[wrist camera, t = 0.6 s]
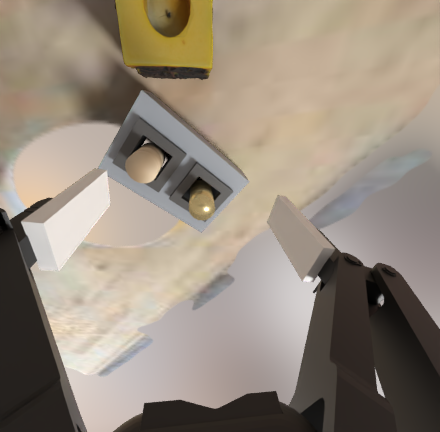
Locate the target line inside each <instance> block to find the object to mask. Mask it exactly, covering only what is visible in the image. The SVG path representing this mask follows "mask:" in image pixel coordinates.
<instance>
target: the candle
mask: <svg viewBox="0 0 440 432" xmlns="http://www.w3.org/2000/svg"><path fill="white" fill-rule="evenodd" d="M212 2H213V0H115V8H116V10H117V16H118V23H119V31H120V40H121V46H122V53H123V60H124V63H125V65H126V66H128V67H131V68H136V70H137V71H138V73H139V74H140V75H142V76H143V77H146V78H147V77H153V78H161V79H162V78H170V79H176V78H179V79H187V78H199V79H201V80H203V79H207V78H208V77H209V73H210V71H211V70H212V60H213V34H212V20H213V7H212Z"/></svg>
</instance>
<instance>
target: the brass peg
mask: <svg viewBox="0 0 440 432" xmlns="http://www.w3.org/2000/svg"><path fill="white" fill-rule="evenodd" d="M214 212H215V204H214V199H213V193H212V188H211V185H210V184H208V183H207V182H206V181H204V180H198V181H196V182H194V183H193V184H192V185H191V188H190V199H189V213H190V215H191V216H192V217H193V218H195V219H197V220H207V219H209V218H211V217H212V216H213V214H214Z"/></svg>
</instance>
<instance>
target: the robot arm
mask: <svg viewBox="0 0 440 432" xmlns="http://www.w3.org/2000/svg"><path fill="white" fill-rule="evenodd" d="M109 206H110V196H109V186H108V175H107V170H102V169H96V168H95V169H93V170H92V171H91V172H89V173H88V174H86V175H85V176H84V177H82V178H81V179H79V180H78V181H77V182H75V183H74V184H72V185H71V186H70V187H68V188H67V189H65V190H64V191H63V192H61V193H60V194H58V195H57V196H56V197H54V198H47V199H44V200H41V201H38V202H36V203H35V204H33V205H32V206H30V208H27V209H26V210H24V212H21V213H20V214H18V215H17V216H15V217H14V218H12V219H11V220H9V218H8V216H7V213H6V211H5V210H3V209H1V208H0V432H87V430H86V427H85V425H84V422H83V420H82V417H81V415H80V412H79V409H78V406H77V403H76V400H75V398H74V395H73V392H72V389H71V386H70V383H69V380H68V377H67V374H66V371H65V368H64V365H63V362H62V359H61V356H60V353H59V351H58V348H57V345H56V342H55V339H54V336H53V333H52V330H51V327H50V324H49V321H48V318H47V315H46V312H45V309H44V307H43V304H42V301H41V298H40V295H39V292H38V289H37V286H36V283H35V280H34V277H33V274H32V272H31V269H30V268H31V267H32V265H33V264H34V263H35V262H36V261H37V264H38V266H39V269H40V270H42V271H60V269H61V268H62V267H63V265H64V264H65V263H66V261H67V260H68V259H69V258H70V256H71V255H72V254H73V252H74V251H75V250H76V249H77V247H78V246H79V245H80V243H81V242H82V241H83V240H84V238H85V237H86V236H87V234H88V233H89V232H90V230H91V229H92V228H93V227H94V225H95V224H96V222H97V221H98V220H99V219H100V218H101V216H102V215H103V214H104V212H105V211H106V210H107V208H108V207H109ZM267 223H268V225H269V226H270V228H271V230H272V231H273V233H274V235H275V236H276V238H277V240H278V241H279V243H280V244H281V246H282V248H283V250H284V251H285V253H286V255H287V256H288V258H289V259H290V262H291V263H292V265H293V266H294V268H295V270H296V272H297V273H298V275H299V277H300V278H301V280H302V281H303V282H313V281H314V280H315V278H316V277H317V276H319V277H320V279H321V281H320V283H319V284H318V285H317V287H316V288H315V290H314V291H313V293H315V292H316V291H317V294H316V298H315V302H314V307H313V312H312V317H311V321H310V326H309V331H308V335H307V340H306V344H305V349H304V354H303V359H302V363H301V368H300V372H299V377H298V382H297V386H296V390H295V394H294V396H293V398H292V400H291V402H290V404H289V406H288V405H286V404H284V403H282V402H279V400H278V396H277V393H276V391H273V392H261V393H250V394H246V395H244V396H242V397H240V398H238V399H236V400H234V401H232V402H230V403H228V404H226V405H224V406H222V407H220V408H217V409H213V408H209V407H205V406H201V405H197V404H194V403H190V402H186V401H182V400H174V401H163V402H152V403H144V409H143V413H141V414H139V415H137V416H135V417H133V418H131V419H130V420H128V421H126V422H125V423H124V424H122V425H121V426H120V427H118V428H117V429H116V430H115V431H113V432H440V329H439V328H438V326H437V325H436V323H435V322H434V321H433V319H432V318H431V316H430V315H429V313H428V312H427V311H426V309H425V308H424V306H423V305H422V304H421V302H420V301H419V299H418V298H417V296H416V295H415V294H414V292H413V291H412V289H411V288H410V287H409V285H408V284H407V282H406V281H405V280H404V278H403V277H402V275H401V274H400V273H399V272H397V271H396V270H395V269H394V268H391V266H388V265H385V264H382V263H377V264H376V265H375V266H374V267H373V268H369V267H365V266H364V265H363V263H362V262H361V261H360V260H359V259H357V258H356V257H354V256H352V255H350V254H348V253H341V252H340V251H339V250H338V249H337V248H336V247H335V246H334V245H333V244H332V243H331V241H329V239H328V238H327V237H325V235H324V234H323V233H322V232H321V231H320V230H318V229H317V228H315V227H314V226H313V225H312V223H311V222H310V221H309V220H308V219H307V218H306V217H305V216H304V215H303V214H302V213H301V212H300V211H299V210H298V209H297V208H296V207H295V205H294V204H293V203H292V202H291V201H290V200H289V199H288V198H287V197H286V196H280V195H278V196H277V198H276V201H275V203H274V206H273V208H272V211H271V213H270V216H269V219H268V221H267ZM383 299H384V304H383V305H382V307H381V305H380V302H381V301H382V300H383ZM375 369H376V371H377V375H378V377H379V381H380V383H381V386H382V390H383V392H384V395H385V398H384V397H383V396H381V395H380V394H378V391H377V385H376V375H375Z"/></svg>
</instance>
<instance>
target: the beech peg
mask: <svg viewBox="0 0 440 432" xmlns="http://www.w3.org/2000/svg"><path fill="white" fill-rule="evenodd" d="M164 161H165V153H164V151H163V149H162V148H160V147H159V146H158V145H156V144H155V143H146V144H144V145H143V146H142V147H140V148H139V149H138V150H137V151H135V152H134V153H133V154H132V155H131V156H129V157H128V159H127V160H126V163H125V168H126V172H127V174H128V175H129V176H130V178H132V179H133V180H134V181H136V182H139V183H149V182H151V181H153V180H154V179H155V178H156V176H157V174H158V172H159V170H160V168H161V166H162V164H163V163H164Z"/></svg>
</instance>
